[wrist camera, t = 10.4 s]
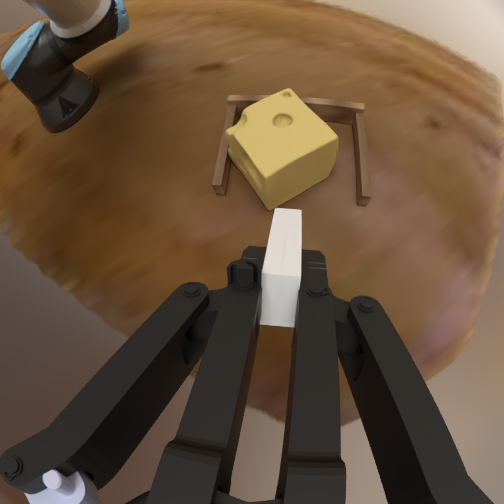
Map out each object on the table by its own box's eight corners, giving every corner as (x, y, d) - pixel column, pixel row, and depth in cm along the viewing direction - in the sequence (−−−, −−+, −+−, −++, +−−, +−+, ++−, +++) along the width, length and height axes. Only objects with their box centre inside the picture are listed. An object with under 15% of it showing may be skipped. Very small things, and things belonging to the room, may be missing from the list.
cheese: (230, 161, 41) (216, 118, 32) (291, 129, 42) (292, 83, 32) (268, 216, 39) (263, 180, 29) (333, 178, 39) (346, 136, 30)
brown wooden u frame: (216, 194, 40) (210, 181, 36) (232, 111, 44) (228, 95, 40) (365, 206, 38) (373, 193, 34) (358, 120, 41) (363, 103, 37)
